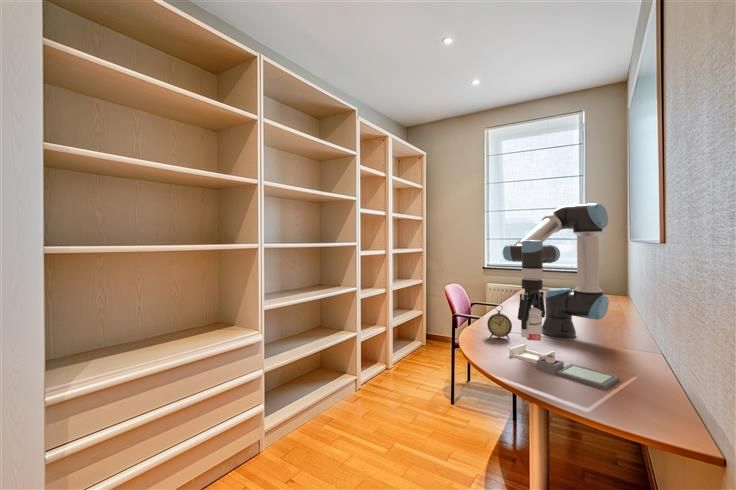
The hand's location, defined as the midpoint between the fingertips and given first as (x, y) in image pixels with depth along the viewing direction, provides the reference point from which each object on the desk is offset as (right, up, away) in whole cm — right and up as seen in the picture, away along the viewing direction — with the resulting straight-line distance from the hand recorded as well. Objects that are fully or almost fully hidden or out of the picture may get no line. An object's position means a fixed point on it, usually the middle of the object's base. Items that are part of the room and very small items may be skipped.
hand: (531, 335), depth 136 cm
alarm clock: (-1, -10, +31) cm, 32 cm away
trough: (0, -10, 0) cm, 10 cm away
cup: (+1, -10, -12) cm, 16 cm away
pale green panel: (+9, -9, -20) cm, 24 cm away
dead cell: (+1, -9, -12) cm, 15 cm away
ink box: (0, -1, 0) cm, 1 cm away
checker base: (+9, -10, -20) cm, 24 cm away
